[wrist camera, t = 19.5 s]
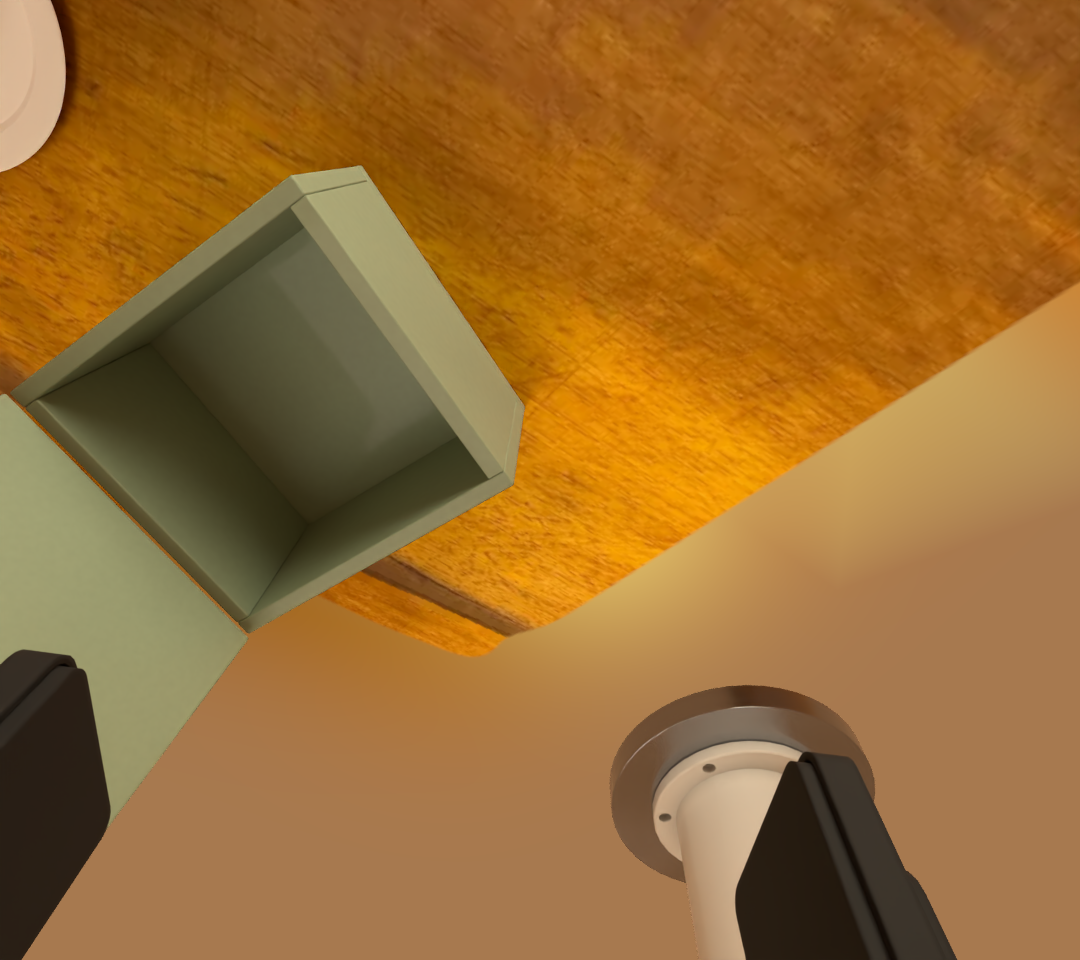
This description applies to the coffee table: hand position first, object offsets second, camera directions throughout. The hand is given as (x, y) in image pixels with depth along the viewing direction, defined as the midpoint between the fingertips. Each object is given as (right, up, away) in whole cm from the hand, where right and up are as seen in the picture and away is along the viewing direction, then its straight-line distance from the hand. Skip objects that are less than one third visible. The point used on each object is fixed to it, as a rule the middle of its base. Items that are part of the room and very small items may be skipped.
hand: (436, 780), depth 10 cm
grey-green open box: (-10, +10, +29) cm, 32 cm away
